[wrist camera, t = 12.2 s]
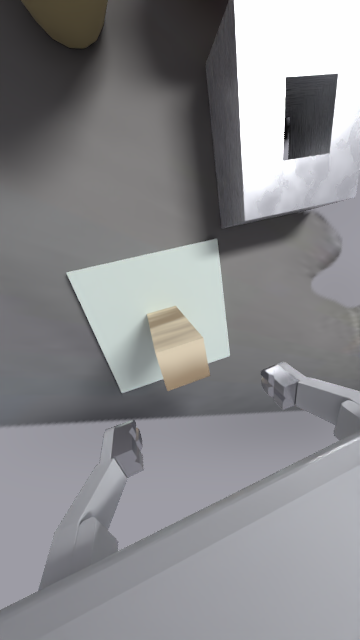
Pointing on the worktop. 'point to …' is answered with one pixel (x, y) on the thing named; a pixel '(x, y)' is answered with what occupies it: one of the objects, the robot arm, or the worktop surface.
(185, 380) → the birch peg
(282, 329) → the worktop surface
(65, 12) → the squeeze bottle
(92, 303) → the sage pad
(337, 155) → the aluminium socket block
